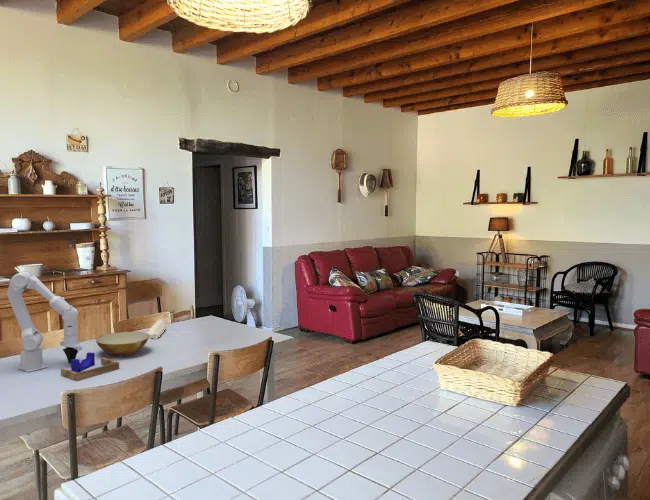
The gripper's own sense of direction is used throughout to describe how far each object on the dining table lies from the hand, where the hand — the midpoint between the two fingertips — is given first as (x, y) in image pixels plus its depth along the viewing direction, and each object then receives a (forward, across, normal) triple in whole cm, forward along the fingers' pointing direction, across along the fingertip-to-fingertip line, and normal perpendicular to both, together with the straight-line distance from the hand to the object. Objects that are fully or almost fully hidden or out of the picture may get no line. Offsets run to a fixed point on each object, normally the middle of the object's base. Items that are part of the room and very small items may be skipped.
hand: (71, 363), depth 224 cm
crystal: (+2, +16, -60) cm, 62 cm away
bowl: (+2, -1, -26) cm, 26 cm away
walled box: (+1, -15, 0) cm, 15 cm away
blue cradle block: (+2, -8, 0) cm, 8 cm away
